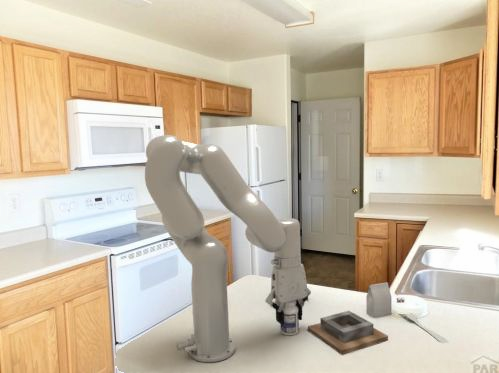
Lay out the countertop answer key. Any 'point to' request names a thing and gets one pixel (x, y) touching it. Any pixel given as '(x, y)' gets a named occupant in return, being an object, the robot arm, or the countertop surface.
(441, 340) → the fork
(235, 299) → the countertop surface
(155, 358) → the countertop surface
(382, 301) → the grey upright pouch
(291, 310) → the pill bottle
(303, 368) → the countertop surface
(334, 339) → the mount
